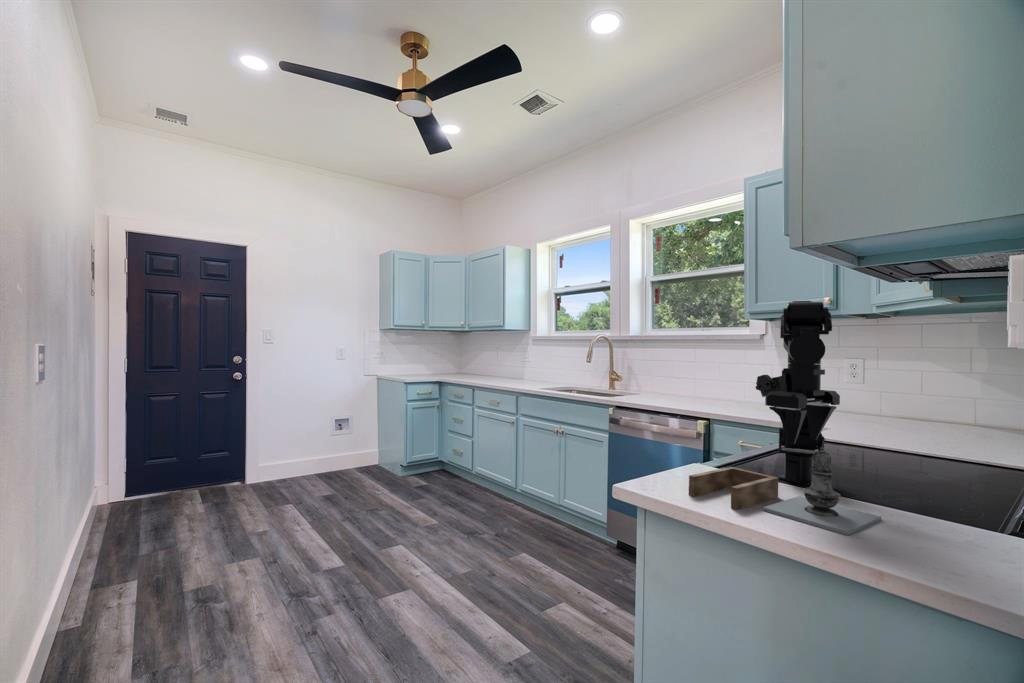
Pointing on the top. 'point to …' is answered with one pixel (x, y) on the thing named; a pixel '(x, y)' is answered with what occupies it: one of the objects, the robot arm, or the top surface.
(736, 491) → the brown wooden u-shaped frame
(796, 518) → the slate mat
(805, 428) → the robot arm
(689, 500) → the top surface
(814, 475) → the grey tall turned piece
